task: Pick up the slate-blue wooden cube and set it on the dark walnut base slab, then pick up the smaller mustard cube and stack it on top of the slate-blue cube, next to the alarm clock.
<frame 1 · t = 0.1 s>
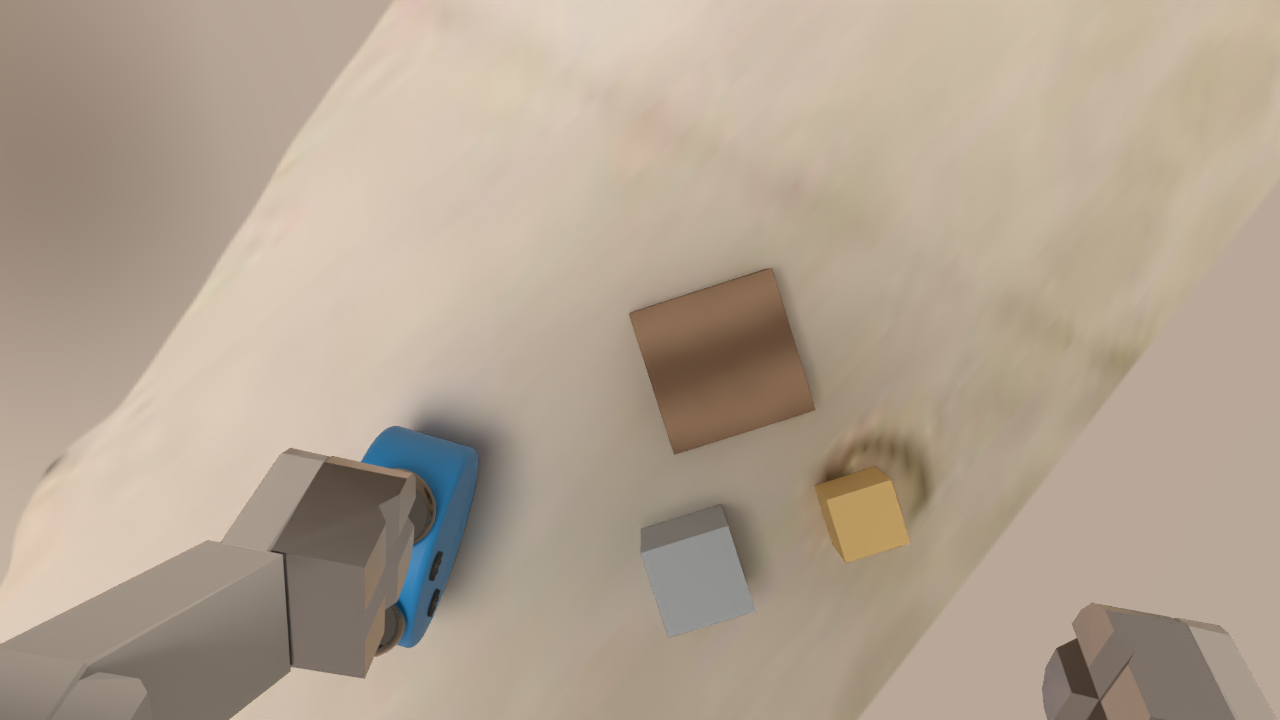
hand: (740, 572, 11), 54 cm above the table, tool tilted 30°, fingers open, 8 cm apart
mustard cube: (853, 505, 66), on the table
slate cube: (693, 555, 67), on the table
walnut base: (719, 358, 65), on the table
alarm clock: (430, 508, 67), on the table
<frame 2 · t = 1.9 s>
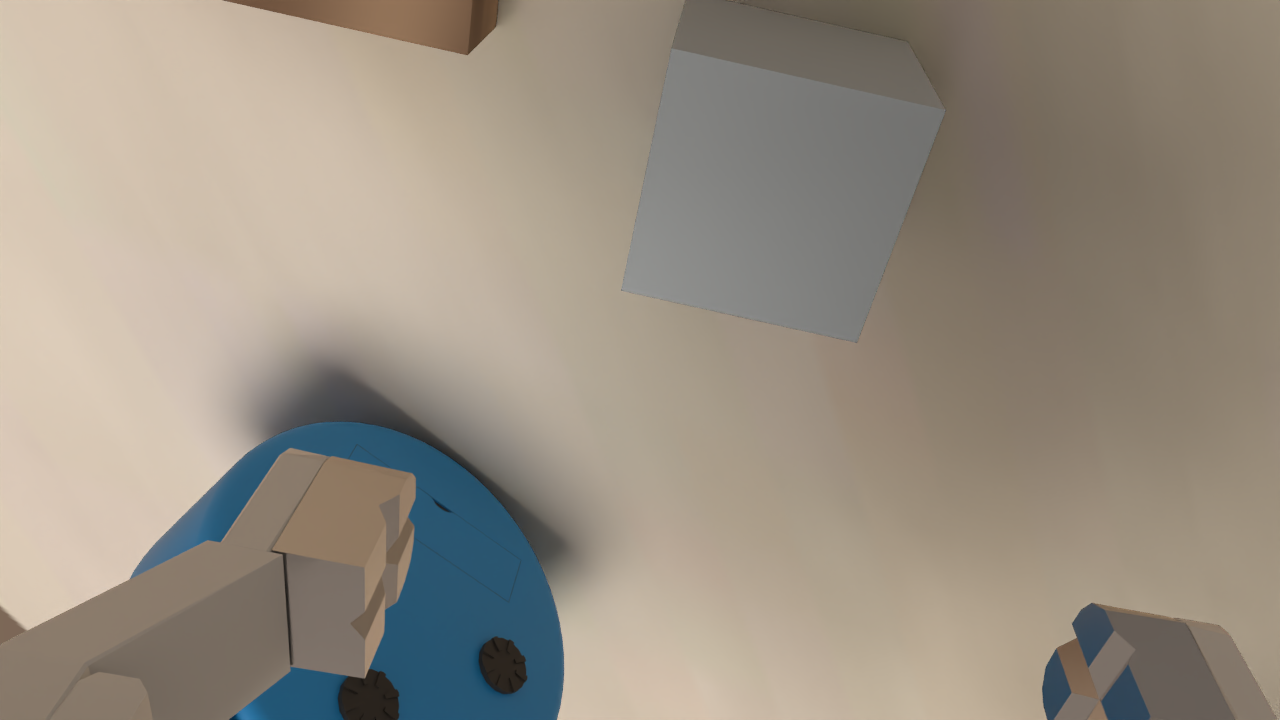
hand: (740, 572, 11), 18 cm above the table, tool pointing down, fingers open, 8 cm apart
slate cube: (768, 123, 26), on the table
alarm clock: (422, 494, 36), on the table
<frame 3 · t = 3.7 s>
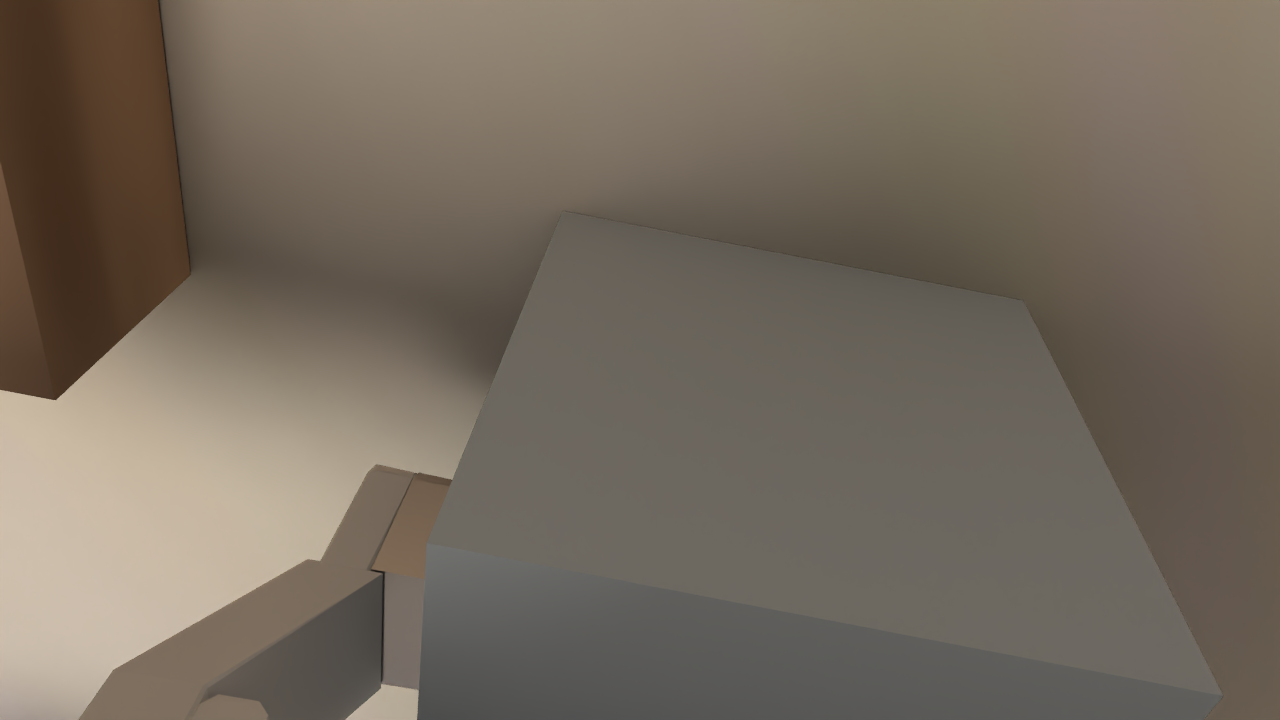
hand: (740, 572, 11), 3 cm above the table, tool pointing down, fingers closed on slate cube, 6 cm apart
slate cube: (741, 436, 13), on the table, touching gripper
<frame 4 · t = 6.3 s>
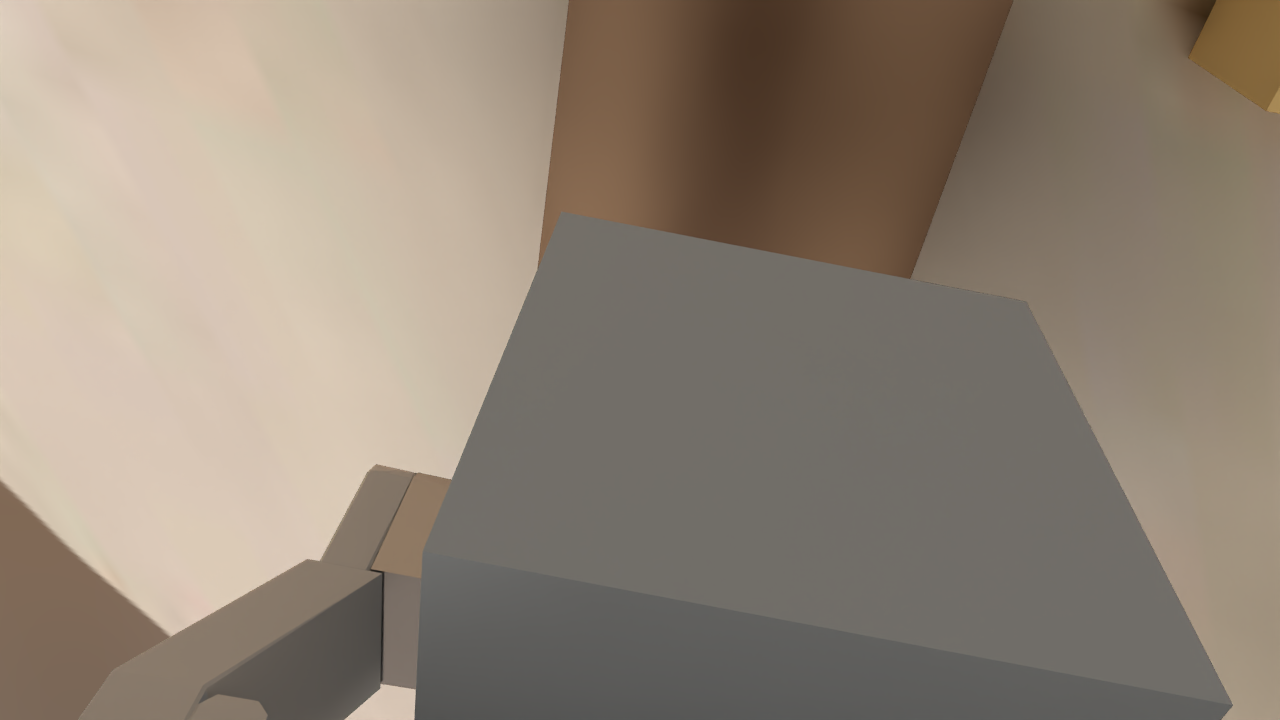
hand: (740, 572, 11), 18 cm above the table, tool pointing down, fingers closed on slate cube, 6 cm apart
slate cube: (741, 439, 13), point 15 cm above the table, touching gripper
walnut base: (749, 118, 26), on the table
when the fingers open (7 cm above the table, at t = 8.8 s): slate cube stays where it is, resting on walnut base.
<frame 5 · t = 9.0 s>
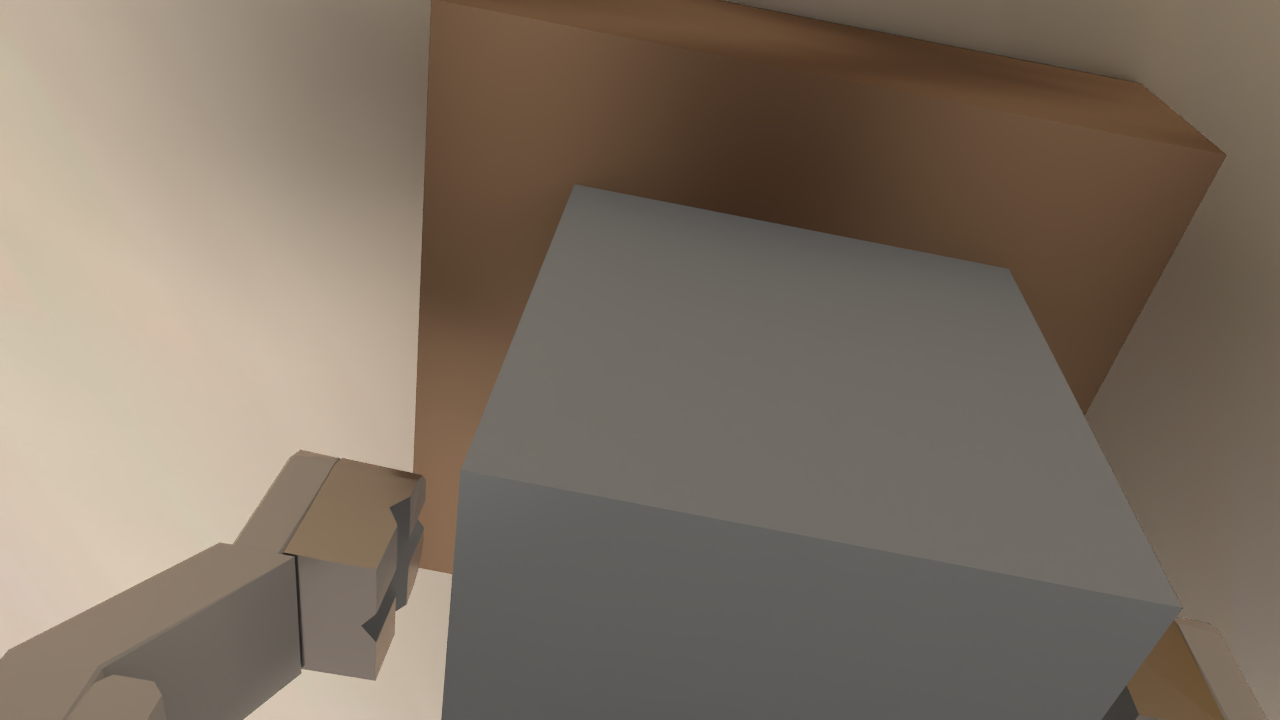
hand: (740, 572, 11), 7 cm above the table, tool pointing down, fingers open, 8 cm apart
slate cube: (742, 402, 14), point 3 cm above the table, touching walnut base
walnut base: (741, 303, 17), on the table
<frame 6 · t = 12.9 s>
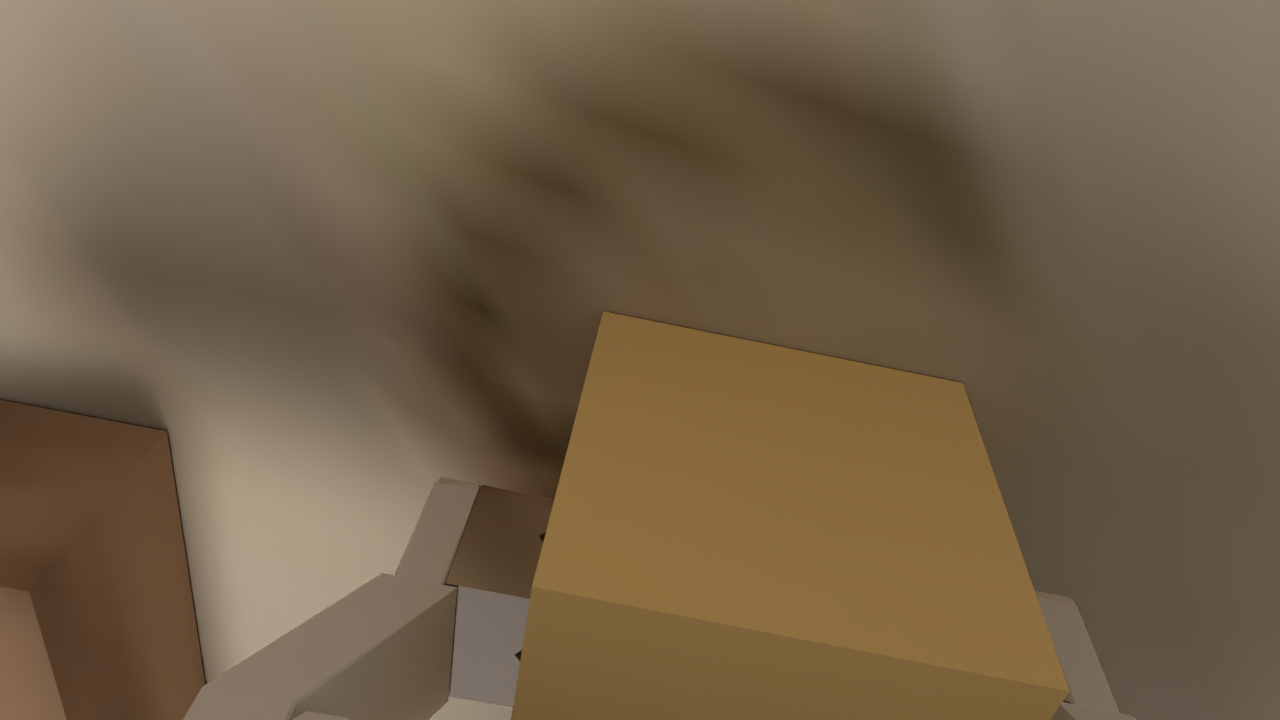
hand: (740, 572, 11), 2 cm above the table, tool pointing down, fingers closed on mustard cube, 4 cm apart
mustard cube: (740, 483, 13), on the table, touching gripper
when the fingers open (12 cm above the table, at t = 17.5 s): mustard cube stays where it is, resting on slate cube.
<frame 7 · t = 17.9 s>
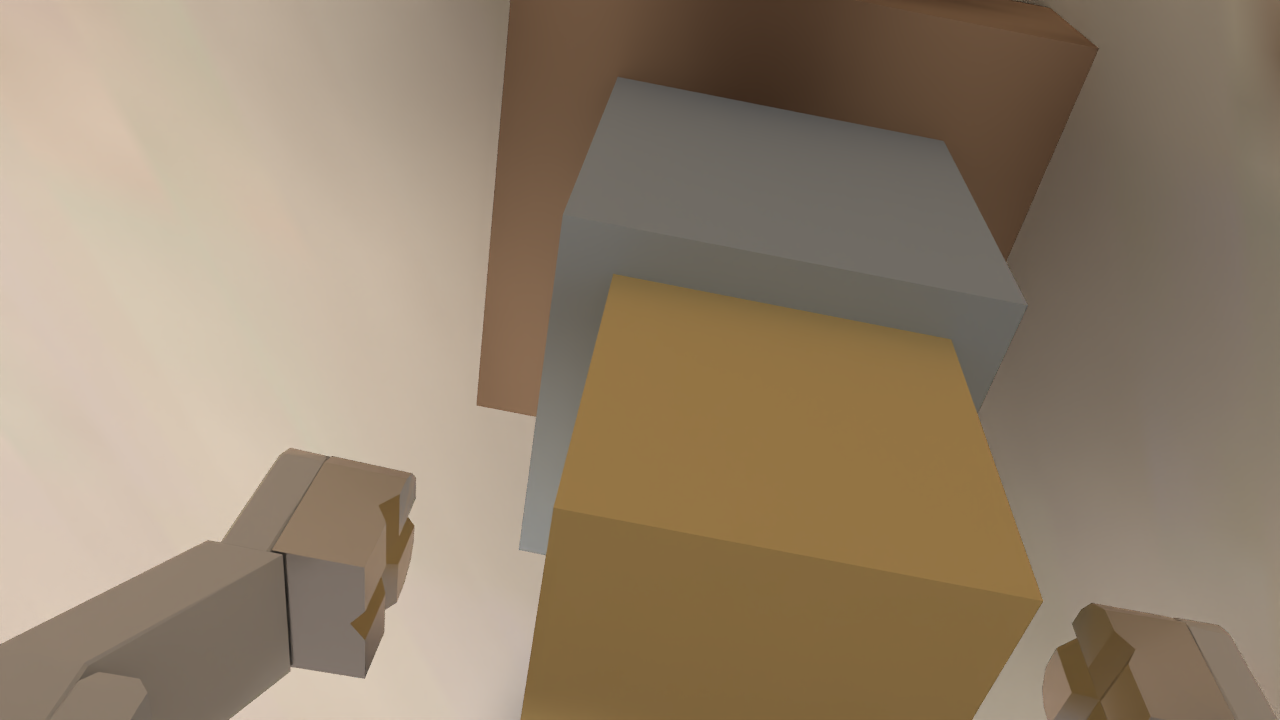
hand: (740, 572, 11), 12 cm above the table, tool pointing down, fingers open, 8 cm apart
mustard cube: (743, 439, 13), point 9 cm above the table, touching slate cube
slate cube: (743, 255, 18), point 3 cm above the table, touching mustard cube, walnut base
walnut base: (742, 193, 21), on the table
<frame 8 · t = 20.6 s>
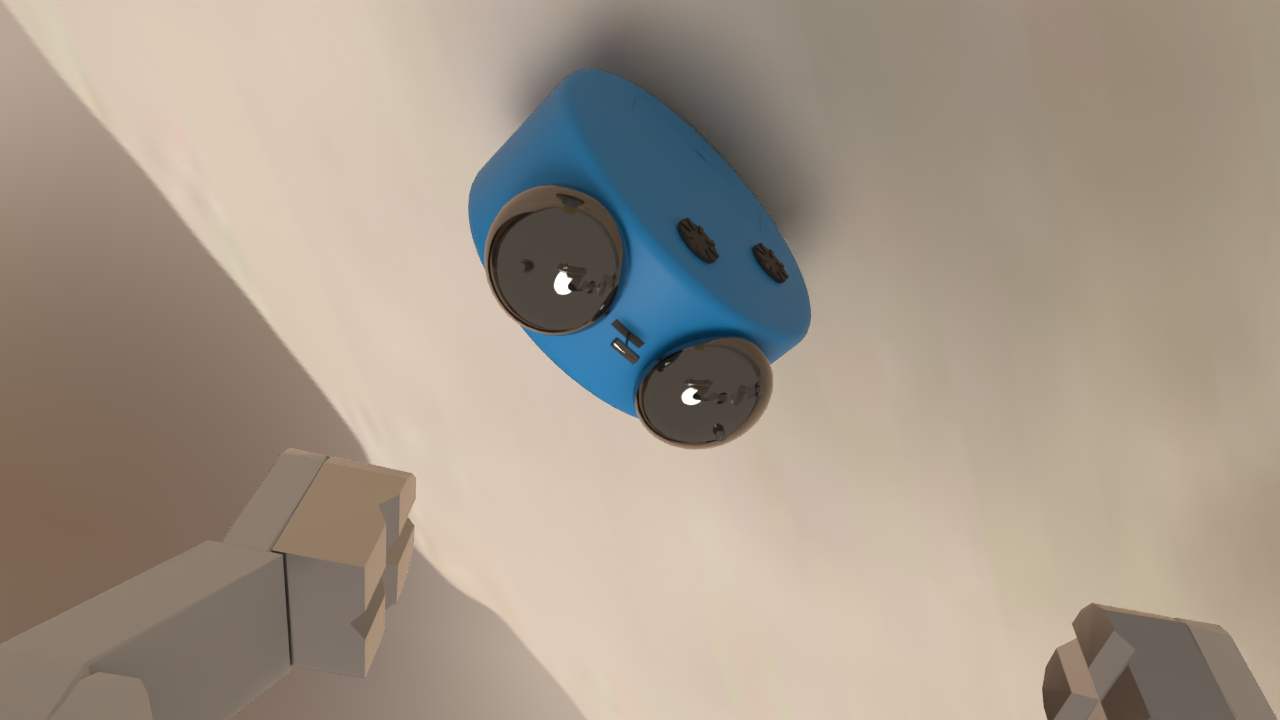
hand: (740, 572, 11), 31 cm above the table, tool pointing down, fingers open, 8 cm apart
alarm clock: (661, 178, 42), on the table
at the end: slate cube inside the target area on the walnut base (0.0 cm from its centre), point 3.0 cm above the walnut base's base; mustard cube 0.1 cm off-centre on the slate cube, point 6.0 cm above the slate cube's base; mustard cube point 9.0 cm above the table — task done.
